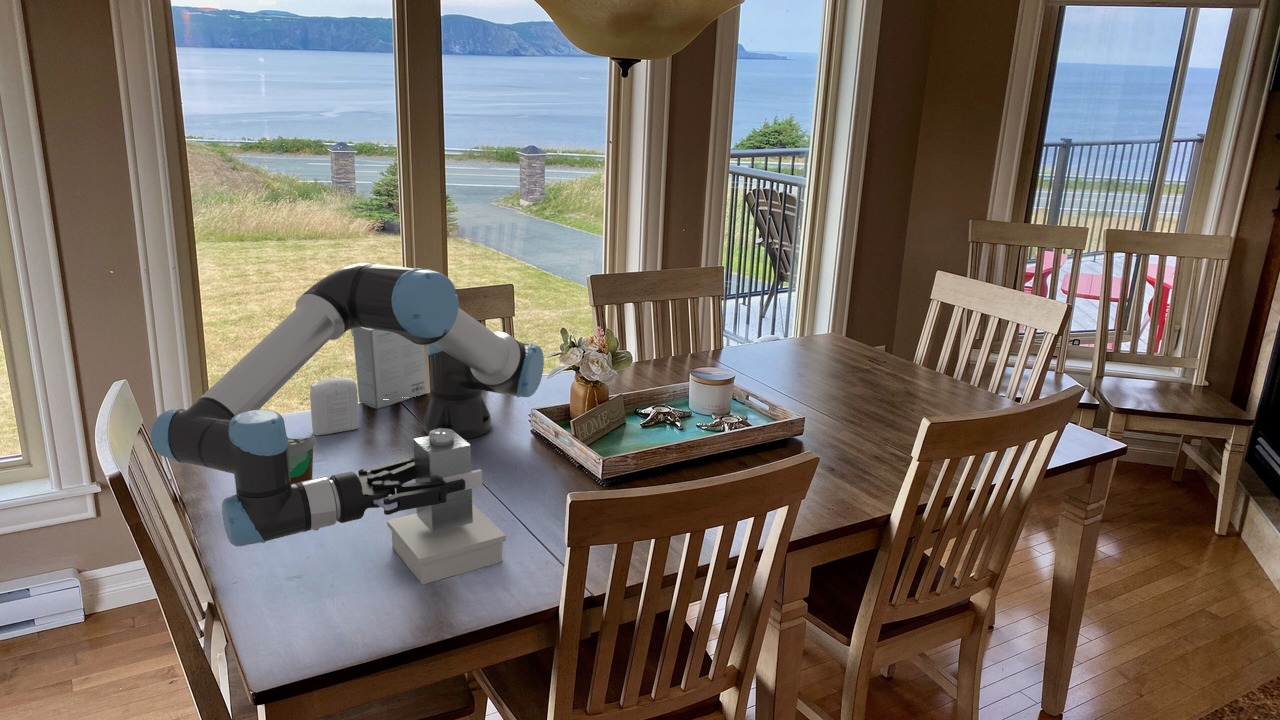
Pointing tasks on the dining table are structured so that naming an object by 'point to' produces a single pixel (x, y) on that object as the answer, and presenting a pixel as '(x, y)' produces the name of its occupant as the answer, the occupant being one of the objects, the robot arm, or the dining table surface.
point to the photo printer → (334, 405)
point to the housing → (433, 463)
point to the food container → (301, 458)
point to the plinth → (446, 546)
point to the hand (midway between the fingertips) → (471, 469)
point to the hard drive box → (387, 367)
